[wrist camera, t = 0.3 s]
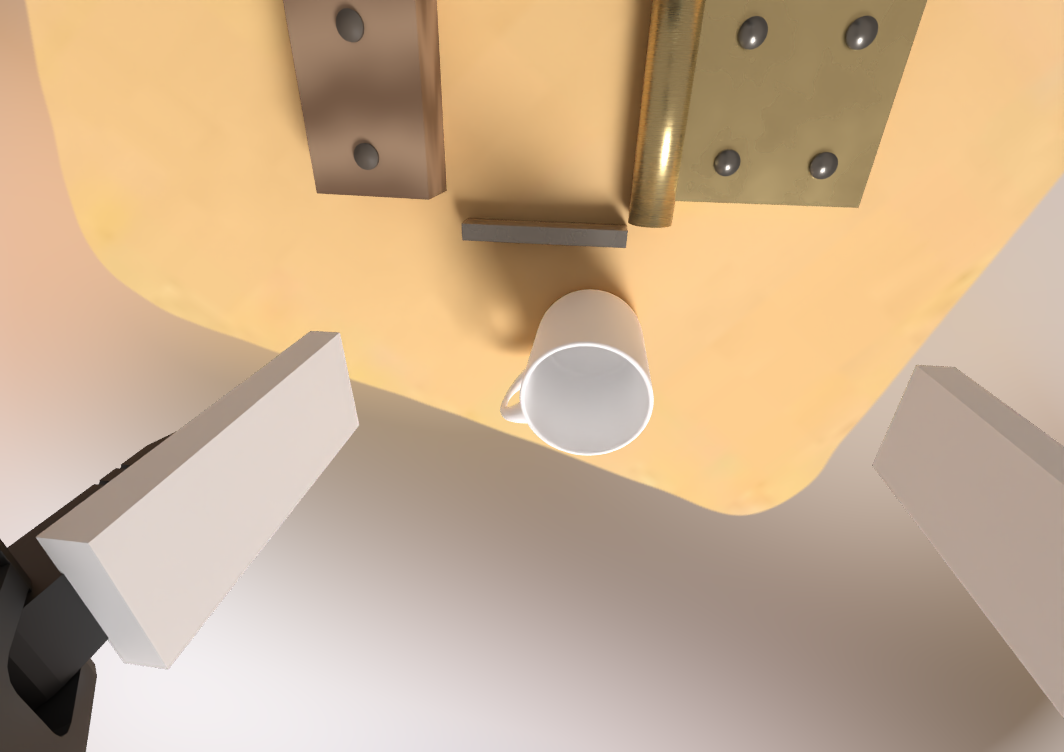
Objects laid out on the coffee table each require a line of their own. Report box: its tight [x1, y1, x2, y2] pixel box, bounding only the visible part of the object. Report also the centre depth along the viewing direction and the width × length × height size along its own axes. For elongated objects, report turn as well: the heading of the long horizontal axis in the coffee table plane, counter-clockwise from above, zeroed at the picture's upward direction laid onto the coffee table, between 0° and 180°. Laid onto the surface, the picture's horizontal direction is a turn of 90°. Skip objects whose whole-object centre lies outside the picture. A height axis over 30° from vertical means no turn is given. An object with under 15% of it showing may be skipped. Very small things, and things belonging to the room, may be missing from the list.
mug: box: [500, 289, 654, 455], centre depth 36 cm, size 9×12×11 cm
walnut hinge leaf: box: [283, 0, 447, 199], centre depth 32 cm, size 12×8×5 cm, turn 179°
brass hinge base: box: [462, 0, 927, 248], centre depth 30 cm, size 18×27×3 cm
